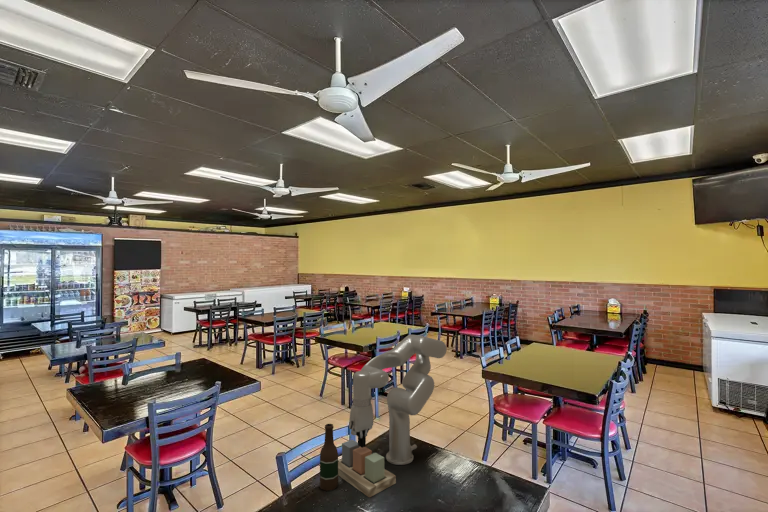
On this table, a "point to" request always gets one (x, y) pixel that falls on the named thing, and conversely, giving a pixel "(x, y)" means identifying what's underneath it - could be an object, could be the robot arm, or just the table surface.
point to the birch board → (365, 480)
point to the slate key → (348, 452)
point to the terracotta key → (360, 459)
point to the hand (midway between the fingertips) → (361, 446)
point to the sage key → (374, 467)
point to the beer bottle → (328, 461)
